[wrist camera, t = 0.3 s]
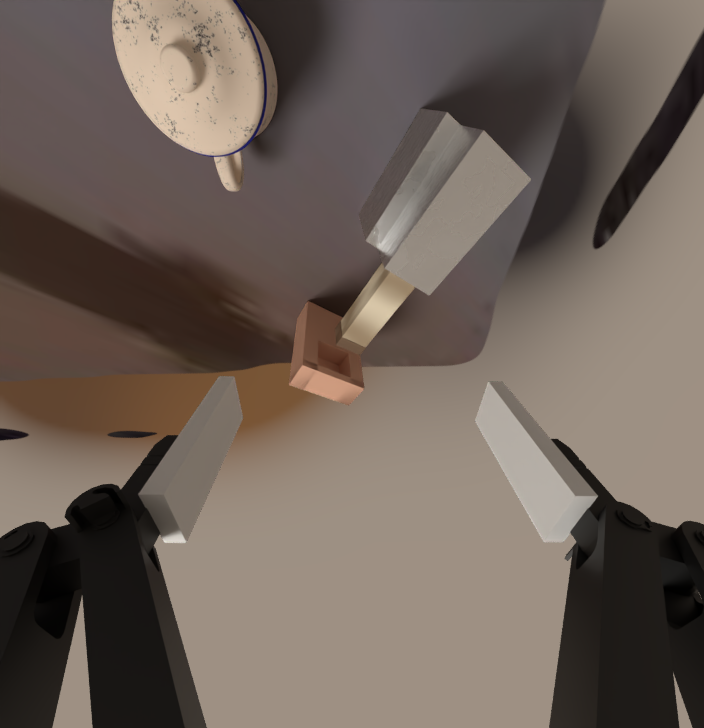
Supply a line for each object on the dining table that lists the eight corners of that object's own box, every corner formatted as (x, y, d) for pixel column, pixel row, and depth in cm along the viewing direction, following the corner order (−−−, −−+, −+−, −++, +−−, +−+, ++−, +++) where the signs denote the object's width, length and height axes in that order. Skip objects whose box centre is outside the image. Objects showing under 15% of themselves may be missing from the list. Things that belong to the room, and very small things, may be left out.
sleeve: (420, 108, 27) (468, 114, 18) (477, 162, 30) (542, 191, 21) (358, 214, 33) (370, 260, 24) (411, 250, 36) (440, 302, 27)
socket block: (307, 300, 40) (302, 365, 31) (355, 323, 44) (364, 388, 34) (297, 318, 42) (288, 384, 33) (343, 339, 46) (348, 405, 36)
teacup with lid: (148, -10, 22) (34, -78, 13) (271, -4, 22) (238, -65, 14) (201, 177, 30) (152, 210, 21) (290, 178, 30) (277, 211, 22)
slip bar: (453, 159, 23) (467, 166, 21) (479, 182, 24) (495, 191, 22) (335, 328, 34) (335, 344, 31) (357, 338, 35) (359, 355, 32)
